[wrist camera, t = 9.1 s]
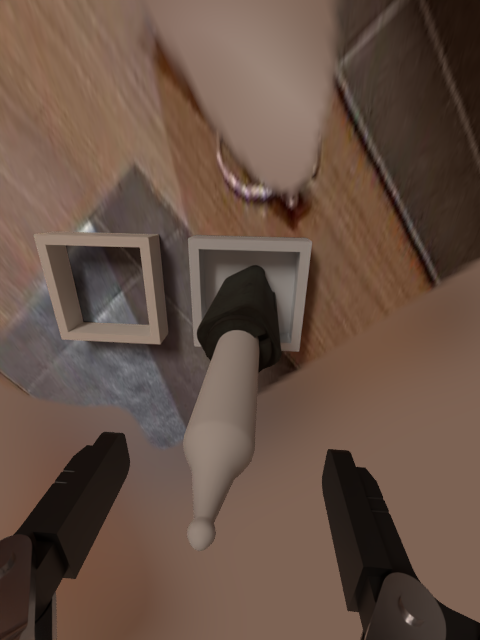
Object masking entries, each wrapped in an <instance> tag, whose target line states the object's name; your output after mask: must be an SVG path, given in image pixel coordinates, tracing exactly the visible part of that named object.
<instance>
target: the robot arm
mask: <svg viewBox="0 0 480 640" xmlns="http://www.w3.org/2000/svg"><path fill="white" fill-rule="evenodd" d="M129 466H130V458H129V453H128V448H127V443H126V438H125V435H124V434H123V433H114V432H103V433H102V434H101V435H100V436H99V438H98V439H97V440H96V442H95V443H94V445H93V446H90V445H87V446H86V447H84V448H83V449H82V450H81V451H79V452H78V453H77V454H76V455H74V456H73V458H72V459H71V460H70V462H69V463H68V464H67V466H66V467H65V468H64V471H63V472H61V473H60V475H59V476H58V477H57V479H56V480H55V483H54V484H52V485H51V487H50V488H49V489H48V491H47V492H46V494H45V495H44V496H43V497H42V499H41V500H40V501H39V503H38V504H37V505H36V507H35V508H34V509H33V511H32V512H31V513H30V515H29V516H28V518H27V519H26V520H25V521H24V523H23V524H22V525H21V527H20V528H19V529H18V530H17V532H16V533H15V534H14V535H12V536H9V537H6V538H4V539H2V540H0V640H57V620H56V619H57V618H56V617H57V616H56V592H55V591H56V589H57V588H58V586H59V584H60V582H61V580H62V578H71V579H76V577H77V575H78V573H79V571H80V569H81V567H82V565H83V563H84V561H85V559H86V557H87V555H88V553H89V551H90V549H91V547H92V545H93V543H94V541H95V539H96V537H97V535H98V533H99V531H100V529H101V527H102V525H103V523H104V521H105V519H106V517H107V515H108V513H109V511H110V509H111V507H112V505H113V503H114V501H115V499H116V497H117V495H118V493H119V491H120V489H121V487H122V485H123V483H124V481H125V479H126V477H127V474H128V471H129ZM322 489H323V496H324V501H325V505H326V510H327V515H328V520H329V524H330V529H331V534H332V539H333V544H334V548H335V553H336V558H337V563H338V567H339V572H340V577H341V581H342V586H343V591H344V596H345V601H346V605H347V610H348V611H354V612H359V614H360V619H361V623H362V627H363V632H362V634H361V637H360V640H480V623H479V622H476V621H474V620H472V619H470V618H468V617H466V616H464V615H462V614H460V613H458V612H456V611H453V610H452V609H450V608H448V607H446V606H445V605H443V604H442V603H440V602H439V601H438V600H437V599H436V598H434V597H433V595H432V594H431V593H430V592H429V590H428V589H426V587H425V586H424V585H423V584H421V582H420V581H419V579H418V578H417V576H416V574H415V572H414V571H413V569H412V566H411V564H410V561H409V559H408V556H407V554H406V551H405V549H404V547H403V544H402V542H401V539H400V537H399V535H398V533H397V530H396V527H395V525H394V523H393V520H392V518H391V515H390V514H389V510H388V508H387V506H386V504H385V501H384V500H383V496H382V493H381V491H380V489H379V486H378V484H377V482H376V480H375V479H374V478H373V477H372V475H371V474H370V473H369V472H368V470H367V469H366V468H361V467H356V466H355V463H354V461H353V458H352V455H351V453H350V452H349V451H346V450H333V449H328V451H327V455H326V460H325V465H324V470H323V476H322Z"/></svg>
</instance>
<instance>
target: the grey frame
mask: <svg viewBox="0 0 480 640" xmlns="http://www.w3.org/2000/svg"><path fill="white" fill-rule="evenodd" d="M33 235H34V239H35V243H36V246H37V250H38V254H39V257H40V261H41V265H42V268H43V272H44V276H45V279H46V283H47V287H48V290H49V294H50V298H51V301H52V305H53V308H54V312H55V316H56V319H57V323H58V327H59V330H60V334H61V338H62V339H65V340H84V341H104V342H123V343H142V344H161V343H162V341H163V340H164V339H165V337H166V336H167V335H168V322H167V312H166V302H165V292H164V281H163V271H162V261H161V250H160V240H159V234H127V233H88V232H47V233H39V234H33ZM66 245H74V246H109V247H140V253H141V261H142V269H143V277H144V285H145V293H146V301H147V309H148V317H149V325H136V324H115V323H93V322H83V318H82V313H81V309H80V305H79V300H78V296H77V292H76V287H75V283H74V279H73V274H72V270H71V266H70V261H69V257H68V253H67V248H66Z"/></svg>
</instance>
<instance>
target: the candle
mask: <svg viewBox="0 0 480 640" xmlns="http://www.w3.org/2000/svg"><path fill="white" fill-rule="evenodd" d="M197 339H198V341H199V343H200V345H201V346H202V348H203V349H204V351H205V353H206V356H207V357H208V358H209V359H210V361H211V362H210V365H209V368H208V371H207V374H206V376H205V379H204V382H203V385H202V388H201V390H200V393H199V396H198V399H197V402H196V404H195V407H194V410H193V413H192V416H191V418H190V421H189V424H188V427H187V430H186V432H185V435H184V442H183V448H184V453H185V456H186V459H187V461H188V464H189V466H190V468H191V471H192V486H193V510H194V519H193V521H192V522H191V524H190V525H189V527H188V531H187V537H188V540H189V542H190V544H191V546H192V547H193V548H194V549H195V550H198V551H202V550H205V549H206V548H207V547H208V546H210V544H212V542H213V541H214V539H215V534H216V532H215V526H214V521H215V519H216V517H217V515H218V513H219V511H220V509H221V506H222V504H223V502H224V500H225V498H226V496H227V493H228V491H229V489H230V487H231V485H232V483H233V480H234V479H235V478H236V477H238V476H239V475H240V474H241V473H242V472H243V471H244V469H245V468H246V467H247V466H248V465H249V463H250V462H251V460H252V457H253V453H254V447H255V428H256V427H255V426H256V408H257V388H258V372H260V371H261V370H262V369H265V368H267V367H270V366H272V365H274V364H276V363H277V362H278V361H279V359H280V357H281V342H280V332H279V322H278V312H277V302H276V294H275V292H273V291H272V289H271V287H270V285H269V283H268V281H267V279H266V277H265V271H264V269H263V268H262V267H260V266H258V265H252V266H250V267H248V268H245V269H243V270H241V271H239V272H237V273H235V274H233V275H231V276H229V277H227V278H226V279H225V280H224V282H223V284H222V286H221V287H220V289H219V291H218V293H217V295H216V296H215V298H214V300H213V302H212V304H211V305H210V307H209V309H208V311H207V312H206V314H205V316H204V318H203V320H202V321H201V323H200V325H199V327H198V329H197Z"/></svg>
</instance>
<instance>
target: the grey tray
mask: <svg viewBox="0 0 480 640" xmlns="http://www.w3.org/2000/svg"><path fill="white" fill-rule="evenodd" d="M188 246H189V263H190V281H191V299H192V316H193V334H194V346H200V347H202V346H201V345H200V343H199V341H198V339H197V329H198V327H199V325H200V323H201V321H202V320H203V318H204V316H205V314H206V312H207V311H208V309H209V307H210V305H211V304H212V302H213V300H214V298H215V296H216V295H217V293H218V291H219V289H220V287H221V286H222V284H223V282H224V280H225V279H226V278H227V277H229V276H231V275H233V274H235V273H237V272H239V271H241V270H243V269H245V268H248V267H250V266H252V265H258V266H260V267H262V268H263V269H264V271H265V277H266V279H267V281H268V283H269V285H270V287H271V289H272V291H273V292H275V294H276V302H277V312H278V322H279V332H280V342H281V351H296V352H299V349H300V340H301V332H302V323H303V315H304V306H305V298H306V290H307V281H308V273H309V264H310V256H311V247H312V241H311V240H309V239H308V238H283V237H244V236H205V235H194V236H192V237H190V238H188Z"/></svg>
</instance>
